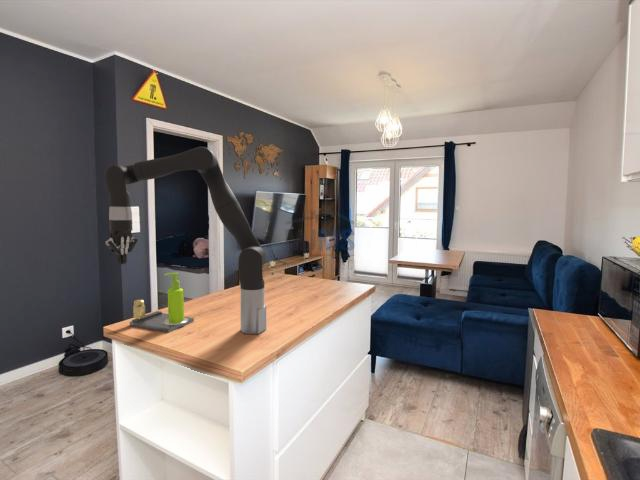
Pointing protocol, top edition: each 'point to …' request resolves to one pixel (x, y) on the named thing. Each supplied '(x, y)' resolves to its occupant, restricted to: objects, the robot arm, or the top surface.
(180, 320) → the soap dispenser
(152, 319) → the plate
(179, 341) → the top surface
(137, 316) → the press lever
